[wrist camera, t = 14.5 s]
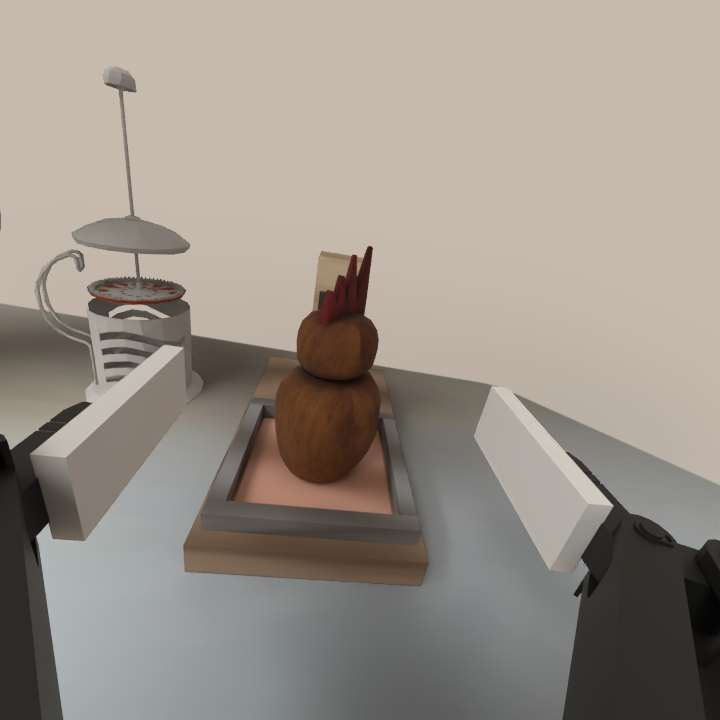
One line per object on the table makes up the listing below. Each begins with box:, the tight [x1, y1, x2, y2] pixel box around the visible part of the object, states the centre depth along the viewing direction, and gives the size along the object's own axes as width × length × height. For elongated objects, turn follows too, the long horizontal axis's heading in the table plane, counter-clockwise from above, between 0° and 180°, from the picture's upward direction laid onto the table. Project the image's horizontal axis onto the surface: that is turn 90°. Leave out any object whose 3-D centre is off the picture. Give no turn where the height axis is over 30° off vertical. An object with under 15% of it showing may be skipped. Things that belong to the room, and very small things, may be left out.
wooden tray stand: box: [183, 251, 428, 586], centre depth 27 cm, size 24×13×15 cm, turn 3°
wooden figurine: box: [274, 246, 381, 482], centre depth 22 cm, size 7×6×15 cm
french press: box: [35, 67, 204, 403], centre depth 28 cm, size 10×12×25 cm
